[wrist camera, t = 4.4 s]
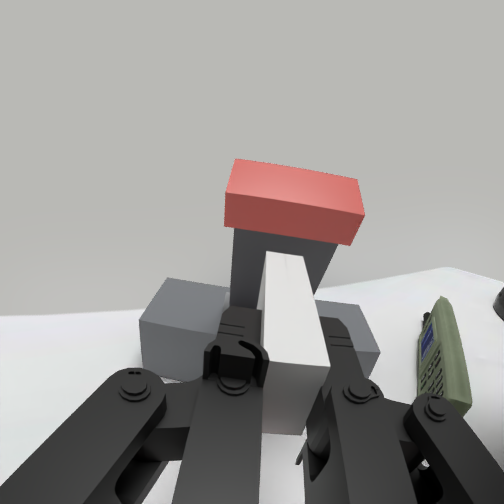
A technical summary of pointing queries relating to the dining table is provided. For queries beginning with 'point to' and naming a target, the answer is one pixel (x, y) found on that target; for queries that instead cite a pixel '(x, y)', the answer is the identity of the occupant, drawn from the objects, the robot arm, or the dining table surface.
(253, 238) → the breaker lever
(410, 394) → the dining table surface
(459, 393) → the handheld radio
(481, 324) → the dining table surface
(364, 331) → the breaker box
